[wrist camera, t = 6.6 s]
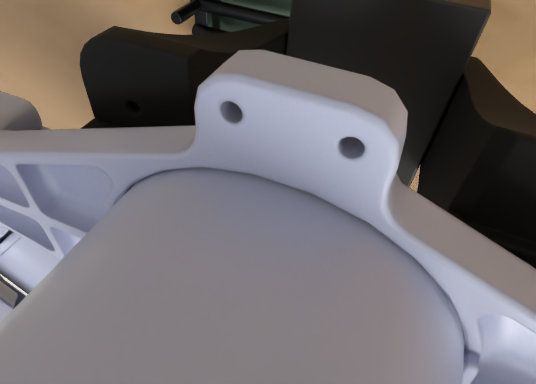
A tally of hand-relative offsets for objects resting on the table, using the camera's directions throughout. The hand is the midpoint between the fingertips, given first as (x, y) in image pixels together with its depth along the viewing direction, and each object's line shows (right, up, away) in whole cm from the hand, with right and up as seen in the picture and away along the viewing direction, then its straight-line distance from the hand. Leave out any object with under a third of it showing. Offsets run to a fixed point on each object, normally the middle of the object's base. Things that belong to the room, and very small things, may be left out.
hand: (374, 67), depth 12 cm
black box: (0, +1, +1) cm, 1 cm away
